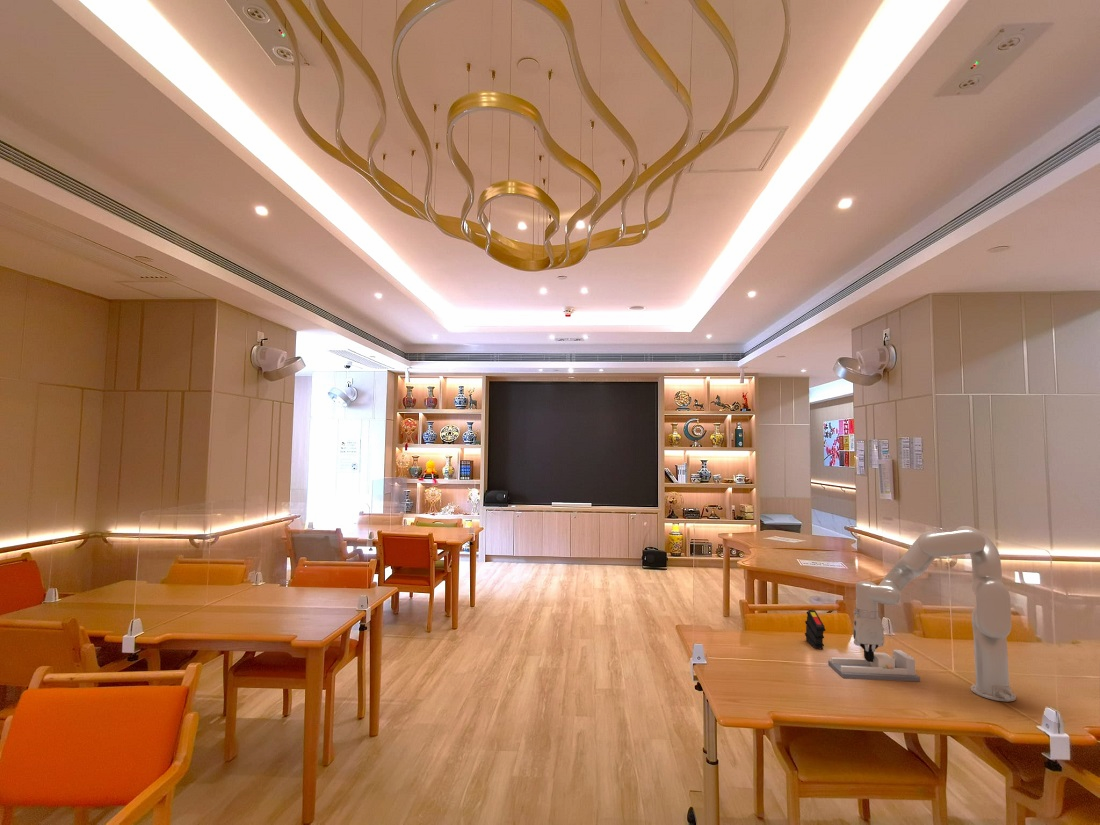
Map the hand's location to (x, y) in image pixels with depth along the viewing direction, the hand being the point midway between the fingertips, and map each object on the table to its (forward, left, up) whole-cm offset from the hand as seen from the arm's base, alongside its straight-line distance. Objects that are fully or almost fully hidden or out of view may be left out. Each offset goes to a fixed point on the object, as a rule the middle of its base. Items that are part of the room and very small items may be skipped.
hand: (869, 660), depth 217 cm
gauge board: (0, -1, -4) cm, 5 cm away
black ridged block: (+29, +10, -5) cm, 31 cm away
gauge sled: (0, -5, -3) cm, 6 cm away
